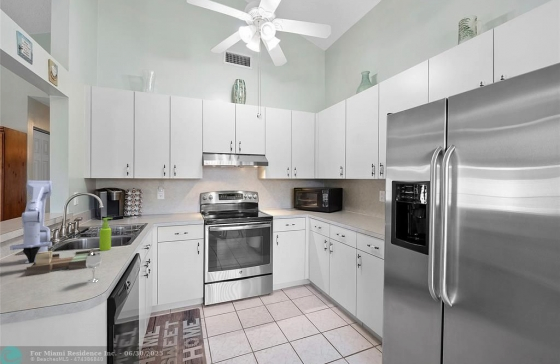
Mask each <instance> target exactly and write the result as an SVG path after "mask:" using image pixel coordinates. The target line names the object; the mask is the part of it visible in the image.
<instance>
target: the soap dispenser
mask: <svg viewBox="0 0 560 364" xmlns="http://www.w3.org/2000/svg"><path fill="white" fill-rule="evenodd" d="M110 219H111V220H112V219H113V217H104V218H101V220H103V223H102V224H101V228H100V229H99V251H101V252H104V251H110V250H111V249H112V228H110V224H109V222H108V220H110Z"/></svg>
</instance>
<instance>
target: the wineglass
mask: <svg viewBox="0 0 560 364" xmlns="http://www.w3.org/2000/svg"><path fill="white" fill-rule="evenodd" d="M102 262H103V261H102V255H101V253H100V252H94V253H91V254H88V255H87V258H86V267H87V269H90V270H92V278H91V279H88V280H87V281H86V282H87V283H88V284H93V283H96V282H98V281H100V278H95V272H96V270H95V269H96V268H99V267H100V266H101V264H102Z"/></svg>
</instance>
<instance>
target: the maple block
mask: <svg viewBox="0 0 560 364" xmlns="http://www.w3.org/2000/svg"><path fill="white" fill-rule="evenodd" d="M52 254H53V250H48V251H45V252H39V253H38V254H36V265H40V264H48V263H50V262H51V261H52Z"/></svg>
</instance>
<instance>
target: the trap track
mask: <svg viewBox="0 0 560 364" xmlns="http://www.w3.org/2000/svg"><path fill="white" fill-rule="evenodd" d="M94 251H95V249H94V248H91V249H90V250H81V251H75V255H74V256H71V257H70V256H69V257H61V258H60V253H52V261H51V262H50V263H48V264H40V265H36V262H33V263H32V264H31V266H26V268H25V269H26V270H25V271H26V277H27V276H28V277H29V276H33V275H42V274H43V275H44V274H49V273H51V272H60V271H67V270H68V271H71V270H78V269H86V268H87V267H86V258H87V255H88V254H91V253H95V252H94ZM87 269H88V268H87Z"/></svg>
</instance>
